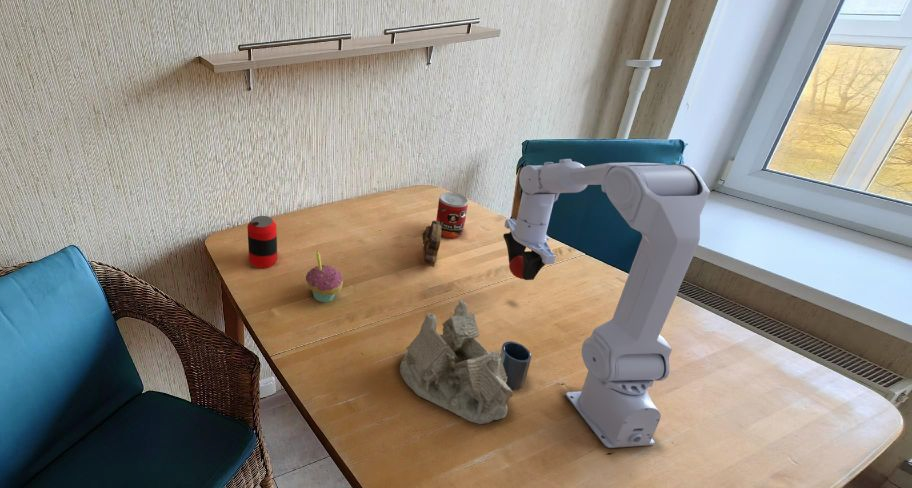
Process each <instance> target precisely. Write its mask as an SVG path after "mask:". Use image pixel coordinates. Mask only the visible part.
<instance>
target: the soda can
mask: <svg viewBox="0 0 912 488" xmlns="http://www.w3.org/2000/svg"><path fill="white" fill-rule="evenodd" d="M246 229H247V243H248V244H247V247H248V260H249V261H248V262H249V263H250V264H251V265H252V266H253V267H255V268H258V269H268V268H270V267H273V266H274V265H275V264H276V263H277V261H278V239H277V238H278V235H277V233H278V232H277V231H278V229H277V223H276V222H275V220H274V219H273V218H271V217H270V216H268V215H257V216H254V217H253V218H252V219H251V220H250V221H249V222H248V224H247V228H246Z"/></svg>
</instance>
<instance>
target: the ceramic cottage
mask: <svg viewBox="0 0 912 488" xmlns="http://www.w3.org/2000/svg"><path fill="white" fill-rule="evenodd" d="M442 327H443V328H442V334H440V333H438V331H437V317H436V315H435V314H434V313H432V312H427V313H425V317H424V320H423V322H422V324H421V327H420V330H419V332H418V334H417V335H416V336H415V338H414V339H413V340H412V341H411V342H410V344H409V345H408V346H406V350H407V351H406V353H404V357H403V358H402V360H401V361H400V365H399V372H400V376H401V377H402V379H403V380H404V383H405V384H406V385H407V386H408V387H409V388H410V389H411V390H412V391H413V392H414V393H415V394H416V395H417V396H418V397H420V398H423V399H424V400H426V401H428V402H431V403H432V404H435V405H437V406H438V407H441V408H443V409H444V410H447V411H449V412H450V413H453V414H455V415H457V416H459V417H461V418H462V419H465V420H466V421H468V422H471V423H475V424H479V425H484V424H489V423H490V422H491V423H492V422H493V421H499V420H501V419H504V418H506V416H507V413H508V404H507V402H508V401H509V398H510V397H513V395H514V391H513V390H512V388H510V387H508V386H507V384H506V382H507V378H508V377H507V376H506V373H505V370H504V367H503V364H502V360H501V357H500V351H499V350H498V349H495V350H492V351H488V350H487V348H485V346H484V345H483V344H482V343H481V342H480V341H479V340H478V339H477V338H479V336H480V332H479V327H478V324H477V319H476V317H475V314H474V312H472V311H471V312H468V309H467V302H466V301H464V300H458V304H457V305H455V308H454V311H453V315H451V316H449V318H447V319H446V320H445V321H444V322H443V323H442Z"/></svg>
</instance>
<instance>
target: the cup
mask: <svg viewBox="0 0 912 488" xmlns="http://www.w3.org/2000/svg"><path fill="white" fill-rule="evenodd" d="M499 354H500V357H501V360H502V364H503V367H504V370H505V373H506V376H507V377H508V378H507V382H506V384H507V386H508V387H509V388H510V389H514V390H518V389H522V388H524V386H525V383H526V380H527V377H528V371H529V368H530V364H531V360H532V353H531V351H530V350H529V349H528V348H527V347H526V346H525V345H523V344H522V343H519V342H516V341H510V340H509V341H505V342H503V344H502V346H501V349H500V352H499Z"/></svg>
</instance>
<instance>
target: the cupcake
mask: <svg viewBox="0 0 912 488" xmlns="http://www.w3.org/2000/svg"><path fill="white" fill-rule="evenodd" d="M316 259H317V266H314V267H313V268H311V269H309V271H307V272H306V275H305V281H306V285H307V287H308V289H310V290H311V292H312V294H313V297H314V299H315V300H317V301H318V302H321V303H328V302H329V303H330V302H331V301H333V300H334V298H335V295H336V293H338V292H340V291H341V290H342V288H343V285H344V279H343V275H342V273H341V272H340V271H339V270H338V269H336V268H335V267H332V266H331V265H325V264H322V262H321V261H322V260H321V253H320V252H319V250H316Z"/></svg>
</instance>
